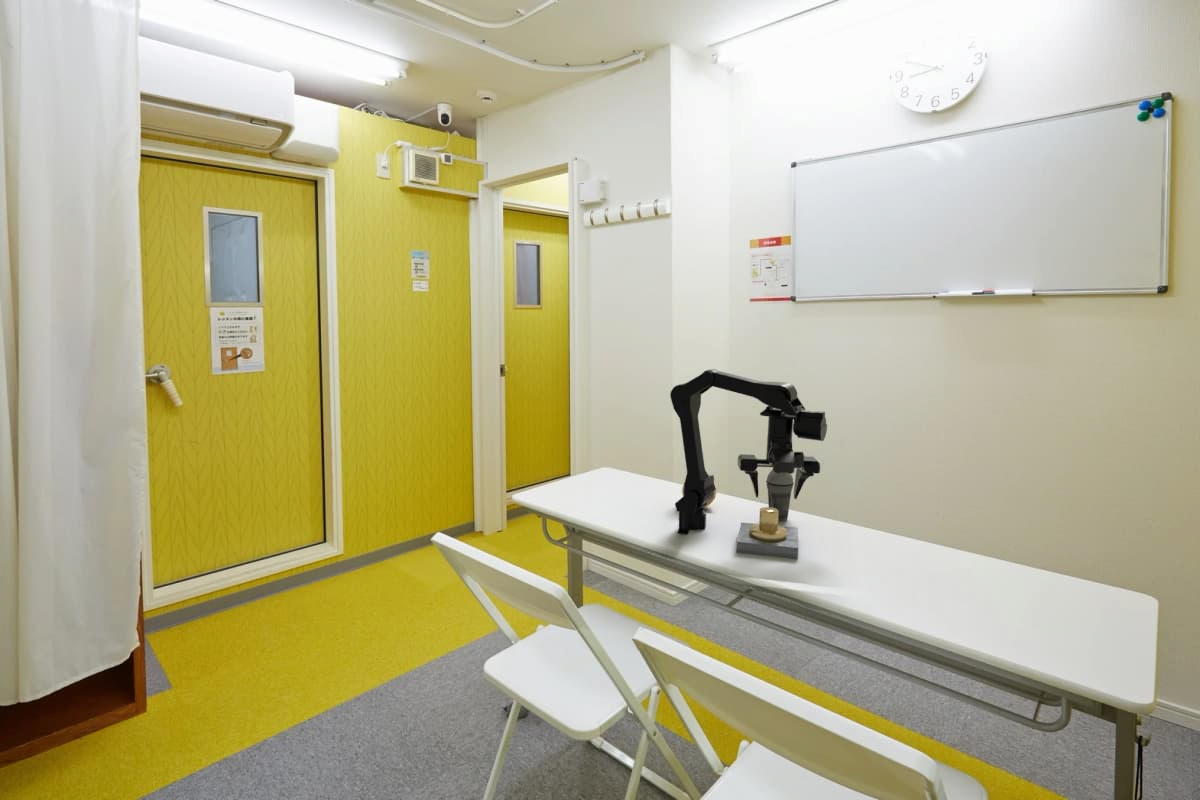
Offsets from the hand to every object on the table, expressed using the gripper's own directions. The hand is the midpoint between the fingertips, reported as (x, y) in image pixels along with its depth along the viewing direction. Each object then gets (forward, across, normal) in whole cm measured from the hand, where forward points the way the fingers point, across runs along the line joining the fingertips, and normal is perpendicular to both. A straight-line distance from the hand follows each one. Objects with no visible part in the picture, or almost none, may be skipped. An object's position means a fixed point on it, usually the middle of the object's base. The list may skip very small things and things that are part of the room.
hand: (776, 497), depth 157 cm
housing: (+13, -2, -2) cm, 13 cm away
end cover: (+12, -2, -2) cm, 12 cm away
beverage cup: (+13, +5, +18) cm, 23 cm away
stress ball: (+14, -16, +30) cm, 37 cm away
